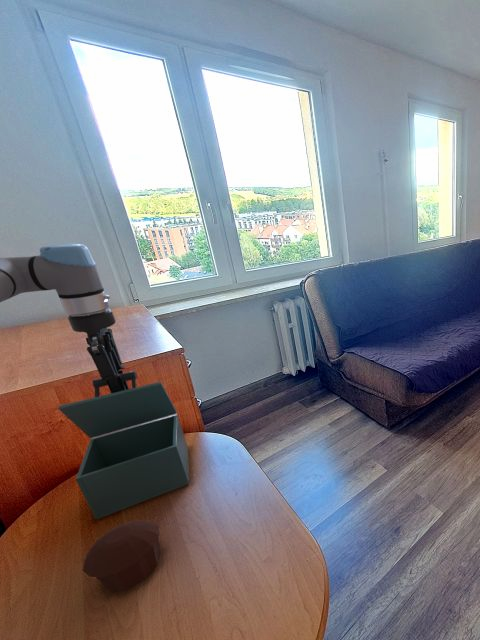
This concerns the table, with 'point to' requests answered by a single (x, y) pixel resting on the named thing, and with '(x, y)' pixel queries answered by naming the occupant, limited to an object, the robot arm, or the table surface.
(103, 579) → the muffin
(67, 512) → the table surface
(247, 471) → the table surface
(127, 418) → the lid
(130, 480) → the chest
